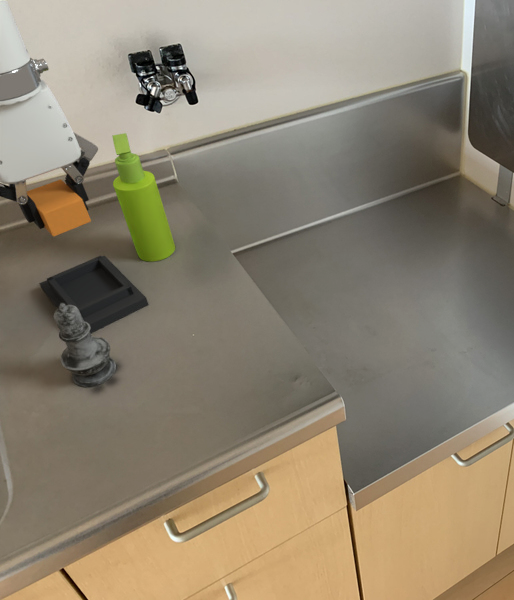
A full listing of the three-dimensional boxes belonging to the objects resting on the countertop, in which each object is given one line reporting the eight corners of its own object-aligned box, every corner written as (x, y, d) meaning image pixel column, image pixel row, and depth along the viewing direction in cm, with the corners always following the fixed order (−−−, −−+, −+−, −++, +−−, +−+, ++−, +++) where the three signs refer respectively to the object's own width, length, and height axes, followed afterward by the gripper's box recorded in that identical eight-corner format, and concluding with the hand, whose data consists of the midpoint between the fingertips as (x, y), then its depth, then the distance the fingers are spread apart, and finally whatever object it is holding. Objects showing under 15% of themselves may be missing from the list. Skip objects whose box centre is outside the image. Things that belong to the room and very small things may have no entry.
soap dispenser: (140, 269, 96) (99, 153, 83) (135, 245, 101) (96, 132, 87) (179, 259, 98) (144, 145, 84) (172, 236, 102) (138, 124, 89)
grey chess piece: (121, 352, 82) (92, 284, 74) (114, 385, 78) (81, 316, 70) (75, 358, 82) (41, 289, 74) (65, 391, 77) (27, 322, 69)
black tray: (81, 338, 84) (73, 322, 82) (42, 290, 92) (35, 275, 90) (148, 304, 90) (143, 289, 88) (107, 262, 97) (101, 247, 95)
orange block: (53, 237, 78) (42, 214, 76) (33, 215, 82) (22, 192, 80) (91, 221, 81) (82, 198, 79) (70, 201, 85) (60, 178, 82)
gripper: (63, 53, 76) (110, 182, 88) (-94, 92, 67) (-17, 229, 79) (88, 69, 72) (134, 202, 84) (-75, 114, 63) (2, 255, 75)
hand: (60, 214), depth 81 cm, fingers closed on orange block, 5 cm apart
